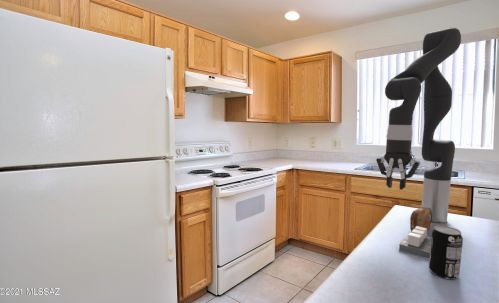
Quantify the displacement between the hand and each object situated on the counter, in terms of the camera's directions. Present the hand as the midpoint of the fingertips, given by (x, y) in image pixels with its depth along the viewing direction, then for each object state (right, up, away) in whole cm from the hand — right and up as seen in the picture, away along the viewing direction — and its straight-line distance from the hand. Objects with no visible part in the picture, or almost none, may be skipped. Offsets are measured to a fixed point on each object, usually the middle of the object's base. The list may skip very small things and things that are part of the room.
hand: (395, 188), depth 95 cm
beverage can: (+1, -20, -22) cm, 30 cm away
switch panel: (+5, -18, -9) cm, 21 cm away
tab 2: (+3, -16, -7) cm, 18 cm away
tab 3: (0, -16, -10) cm, 19 cm away
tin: (+13, -17, +7) cm, 23 cm away
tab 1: (+6, -16, -4) cm, 17 cm away
